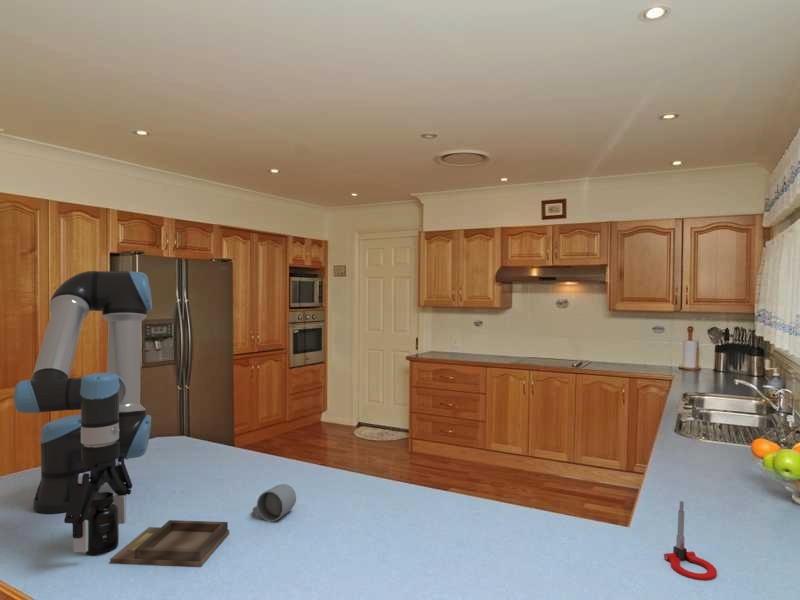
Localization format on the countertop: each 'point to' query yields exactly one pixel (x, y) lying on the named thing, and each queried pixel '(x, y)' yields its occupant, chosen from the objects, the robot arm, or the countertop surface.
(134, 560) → the framed wooden board
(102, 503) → the supplement bottle
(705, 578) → the tow hook
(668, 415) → the countertop surface
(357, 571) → the countertop surface
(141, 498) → the countertop surface
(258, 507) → the ceramic mug
